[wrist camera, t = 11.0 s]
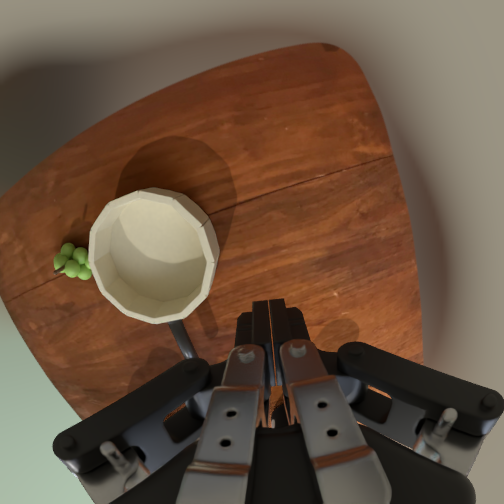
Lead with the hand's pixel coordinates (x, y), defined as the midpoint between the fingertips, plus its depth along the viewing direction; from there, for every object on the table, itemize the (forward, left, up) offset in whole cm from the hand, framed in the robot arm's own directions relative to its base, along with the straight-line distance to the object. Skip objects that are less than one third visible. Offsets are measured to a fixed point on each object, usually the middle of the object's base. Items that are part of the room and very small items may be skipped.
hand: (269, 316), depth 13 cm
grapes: (-15, -19, -18) cm, 30 cm away
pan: (-3, -12, -18) cm, 22 cm away
